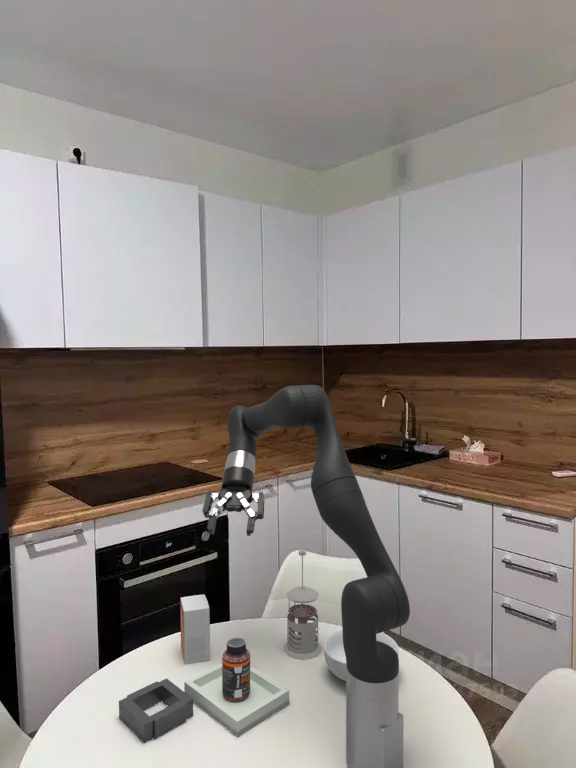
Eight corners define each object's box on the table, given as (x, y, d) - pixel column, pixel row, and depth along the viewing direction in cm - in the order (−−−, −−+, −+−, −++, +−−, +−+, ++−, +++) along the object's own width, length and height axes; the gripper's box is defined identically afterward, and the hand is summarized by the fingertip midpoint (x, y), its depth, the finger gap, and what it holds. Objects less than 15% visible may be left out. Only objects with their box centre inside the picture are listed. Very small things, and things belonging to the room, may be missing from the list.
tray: (289, 704, 111) (289, 690, 111) (237, 737, 101) (237, 721, 101) (235, 669, 124) (235, 656, 124) (184, 695, 114) (184, 681, 114)
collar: (194, 717, 107) (194, 700, 107) (145, 744, 99) (145, 726, 99) (165, 693, 115) (165, 677, 114) (117, 716, 107) (117, 699, 107)
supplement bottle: (245, 705, 109) (245, 651, 109) (218, 701, 110) (218, 648, 110) (253, 687, 115) (253, 636, 114) (227, 684, 116) (227, 633, 116)
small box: (180, 647, 133) (179, 596, 133) (205, 643, 135) (205, 593, 134) (183, 665, 125) (183, 611, 125) (210, 660, 127) (210, 607, 127)
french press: (292, 662, 126) (292, 559, 125) (274, 639, 137) (273, 544, 136) (329, 653, 130) (329, 553, 129) (308, 632, 141) (308, 539, 140)
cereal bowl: (374, 649, 132) (374, 621, 132) (413, 687, 117) (413, 655, 116) (312, 663, 126) (312, 634, 126) (344, 705, 110) (344, 672, 110)
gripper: (208, 464, 129) (196, 524, 118) (266, 465, 128) (259, 526, 117) (213, 481, 135) (202, 540, 124) (269, 482, 133) (262, 542, 122)
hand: (230, 533), depth 120 cm, fingers open, 8 cm apart
